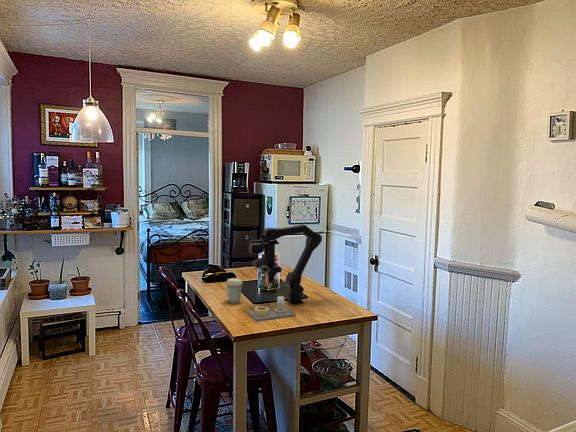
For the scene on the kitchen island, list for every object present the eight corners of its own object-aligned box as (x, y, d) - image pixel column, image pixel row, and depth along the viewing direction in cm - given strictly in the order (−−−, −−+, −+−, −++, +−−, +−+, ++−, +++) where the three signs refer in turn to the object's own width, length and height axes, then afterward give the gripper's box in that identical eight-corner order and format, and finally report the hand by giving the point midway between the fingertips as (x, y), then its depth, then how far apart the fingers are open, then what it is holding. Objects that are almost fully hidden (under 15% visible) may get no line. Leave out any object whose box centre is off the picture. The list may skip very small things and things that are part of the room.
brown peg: (270, 284, 226) (270, 269, 225) (273, 286, 222) (273, 270, 222) (264, 285, 224) (264, 269, 223) (266, 286, 221) (267, 271, 220)
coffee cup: (222, 301, 228) (223, 279, 226) (236, 298, 233) (236, 276, 232) (231, 305, 221) (232, 282, 220) (245, 302, 227) (245, 280, 225)
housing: (283, 307, 219) (284, 292, 219) (295, 315, 208) (296, 299, 207) (246, 312, 211) (247, 296, 210) (257, 321, 199) (257, 304, 198)
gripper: (248, 250, 226) (247, 279, 228) (261, 257, 210) (260, 288, 211) (267, 249, 231) (267, 277, 233) (282, 255, 214) (281, 286, 216)
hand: (268, 282), depth 223 cm, fingers closed on brown peg, 3 cm apart
